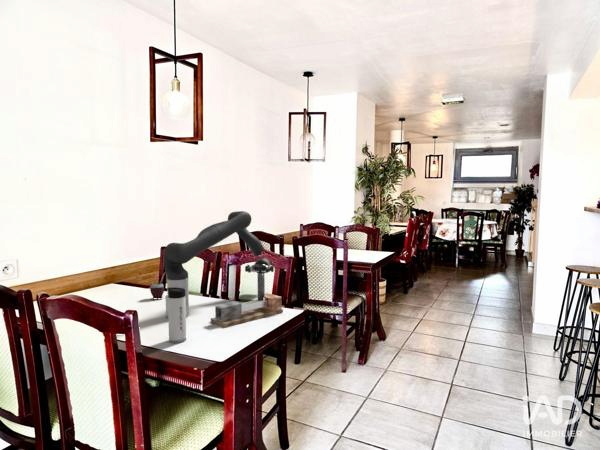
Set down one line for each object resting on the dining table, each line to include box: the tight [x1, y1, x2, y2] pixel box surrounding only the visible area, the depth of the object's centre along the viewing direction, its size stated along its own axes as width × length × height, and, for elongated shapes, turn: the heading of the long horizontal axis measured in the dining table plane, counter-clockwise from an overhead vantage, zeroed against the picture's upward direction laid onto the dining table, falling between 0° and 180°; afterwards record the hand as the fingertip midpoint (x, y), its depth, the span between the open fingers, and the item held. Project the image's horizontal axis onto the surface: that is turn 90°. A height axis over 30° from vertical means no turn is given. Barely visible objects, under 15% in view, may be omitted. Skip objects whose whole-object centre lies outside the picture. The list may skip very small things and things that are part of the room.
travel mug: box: [166, 287, 187, 344], centre depth 150 cm, size 6×7×20 cm
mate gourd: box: [149, 272, 166, 299], centre depth 216 cm, size 8×8×15 cm
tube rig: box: [210, 292, 284, 328], centre depth 181 cm, size 32×11×8 cm, turn 134°
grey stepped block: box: [240, 273, 268, 312], centre depth 182 cm, size 22×3×15 cm, turn 134°
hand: (257, 270), depth 197 cm, fingers open, 8 cm apart
